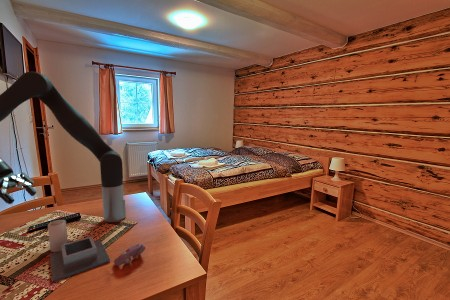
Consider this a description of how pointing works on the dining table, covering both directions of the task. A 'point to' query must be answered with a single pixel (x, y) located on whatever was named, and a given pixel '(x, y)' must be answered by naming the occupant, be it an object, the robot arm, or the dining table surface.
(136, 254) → the video game controller
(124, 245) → the dining table surface
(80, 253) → the roll holder
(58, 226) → the paper roll
